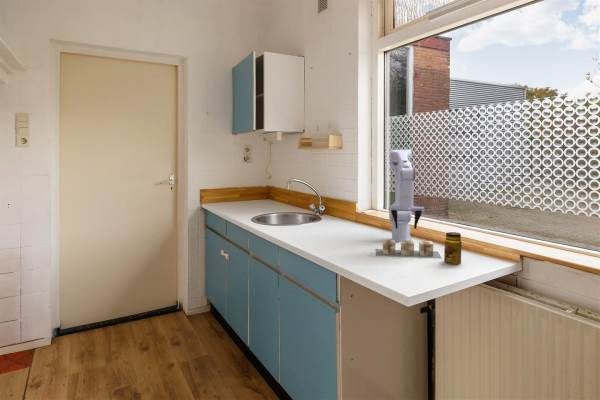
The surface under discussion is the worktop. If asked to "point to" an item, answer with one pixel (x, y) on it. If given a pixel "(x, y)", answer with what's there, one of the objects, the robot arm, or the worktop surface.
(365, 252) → the worktop surface
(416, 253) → the slate mat
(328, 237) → the worktop surface
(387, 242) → the block one
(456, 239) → the condiment
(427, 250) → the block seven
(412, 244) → the plain block
